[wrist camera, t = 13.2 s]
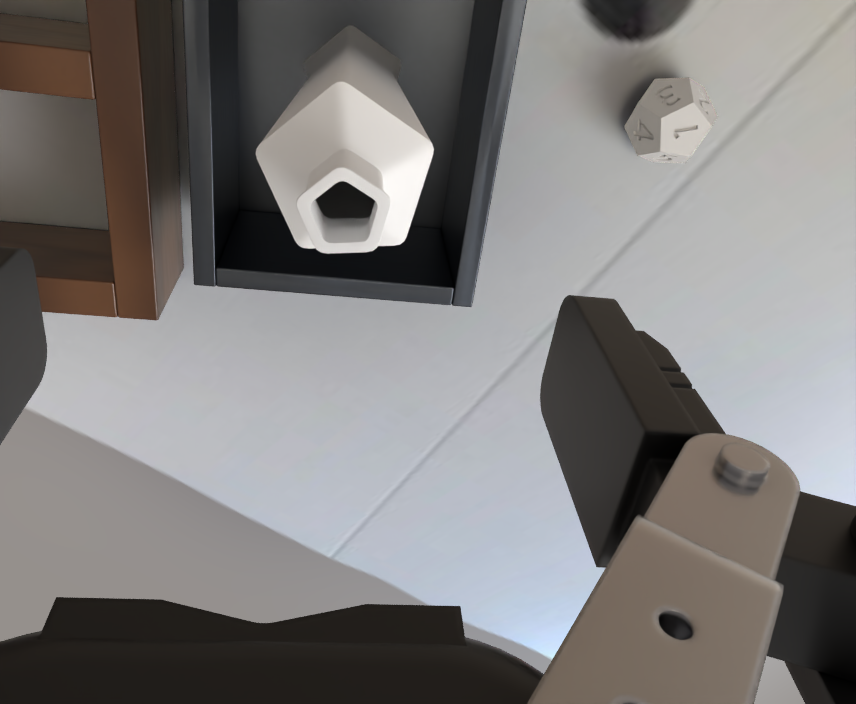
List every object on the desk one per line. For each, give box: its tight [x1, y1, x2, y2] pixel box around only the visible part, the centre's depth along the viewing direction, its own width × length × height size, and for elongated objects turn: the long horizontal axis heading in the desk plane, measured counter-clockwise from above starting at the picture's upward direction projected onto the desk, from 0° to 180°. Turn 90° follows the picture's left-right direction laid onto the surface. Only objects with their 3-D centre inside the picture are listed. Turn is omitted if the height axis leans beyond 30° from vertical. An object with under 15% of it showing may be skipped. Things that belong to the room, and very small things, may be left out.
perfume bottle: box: [256, 26, 434, 254], centre depth 23 cm, size 5×4×15 cm
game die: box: [624, 78, 718, 163], centre depth 31 cm, size 4×4×3 cm
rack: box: [0, 0, 184, 320], centre depth 27 cm, size 10×19×5 cm, turn 173°
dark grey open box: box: [183, 0, 527, 307], centre depth 27 cm, size 11×14×7 cm
